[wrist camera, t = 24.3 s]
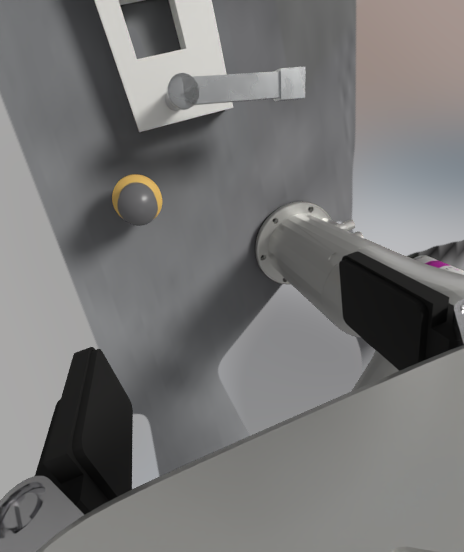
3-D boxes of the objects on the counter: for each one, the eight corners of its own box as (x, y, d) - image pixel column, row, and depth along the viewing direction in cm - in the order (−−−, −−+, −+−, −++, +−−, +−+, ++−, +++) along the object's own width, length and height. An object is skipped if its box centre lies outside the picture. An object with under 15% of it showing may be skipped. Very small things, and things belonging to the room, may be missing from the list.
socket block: (184, -87, 28) (200, -164, 21) (226, 109, 36) (248, 102, 29) (70, -70, 27) (46, -146, 20) (139, 132, 34) (140, 130, 27)
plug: (150, 166, 36) (154, 172, 29) (165, 208, 38) (171, 223, 31) (107, 178, 35) (100, 187, 28) (124, 220, 38) (122, 238, 31)
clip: (296, 100, 30) (304, 98, 28) (169, 111, 27) (171, 109, 26) (297, 69, 29) (305, 65, 27) (164, 76, 26) (165, 73, 25)
